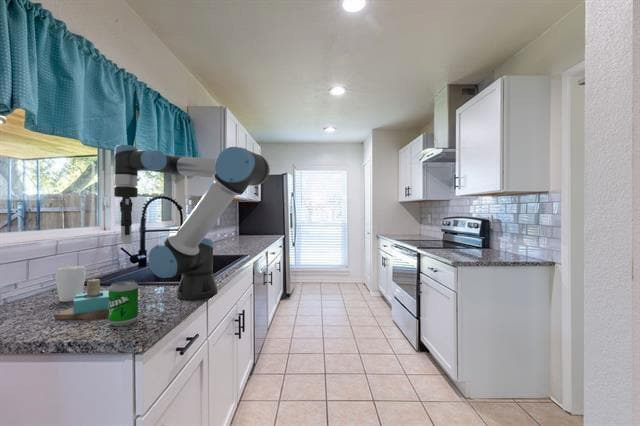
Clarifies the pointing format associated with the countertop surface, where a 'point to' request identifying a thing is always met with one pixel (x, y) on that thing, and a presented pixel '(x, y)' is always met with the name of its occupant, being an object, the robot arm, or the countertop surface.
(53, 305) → the countertop surface
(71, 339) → the countertop surface
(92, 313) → the post fixture
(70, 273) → the cup
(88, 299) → the teal u-shaped block
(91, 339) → the countertop surface
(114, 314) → the soda can
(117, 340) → the countertop surface
